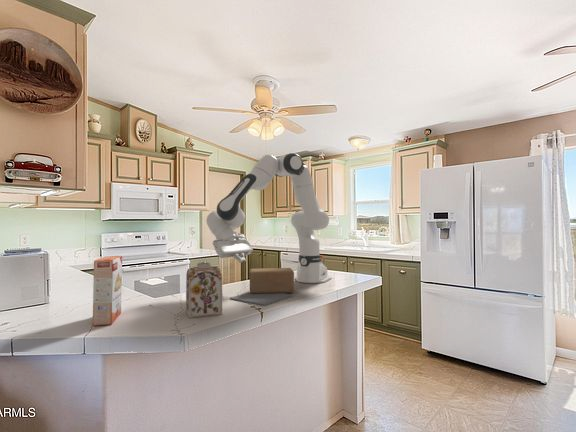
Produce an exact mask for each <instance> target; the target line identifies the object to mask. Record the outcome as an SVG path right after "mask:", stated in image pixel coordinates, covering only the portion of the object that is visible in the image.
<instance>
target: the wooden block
mask: <svg viewBox="0 0 576 432" xmlns="http://www.w3.org/2000/svg"><path fill="white" fill-rule="evenodd" d="M294 291H295V271H294V270H293V269H292V268H291V267H276V268H275V267H269V268H266V267H265V268H263V267H262V268H250V269H249V292H250V293H251V294H261V293H286V294H292V293H294Z"/></svg>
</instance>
